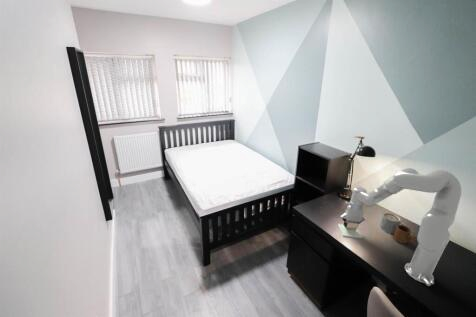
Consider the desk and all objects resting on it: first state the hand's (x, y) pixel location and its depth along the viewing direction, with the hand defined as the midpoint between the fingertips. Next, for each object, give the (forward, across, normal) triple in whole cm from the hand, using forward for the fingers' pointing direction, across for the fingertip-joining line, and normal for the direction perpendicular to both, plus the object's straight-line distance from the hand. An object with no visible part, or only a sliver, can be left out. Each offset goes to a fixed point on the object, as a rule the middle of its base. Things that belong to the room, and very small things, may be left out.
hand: (350, 226), depth 150 cm
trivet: (+4, 0, 0) cm, 4 cm away
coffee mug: (+4, +30, +7) cm, 31 cm away
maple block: (+1, 0, 0) cm, 1 cm away
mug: (+4, +32, -5) cm, 33 cm away
